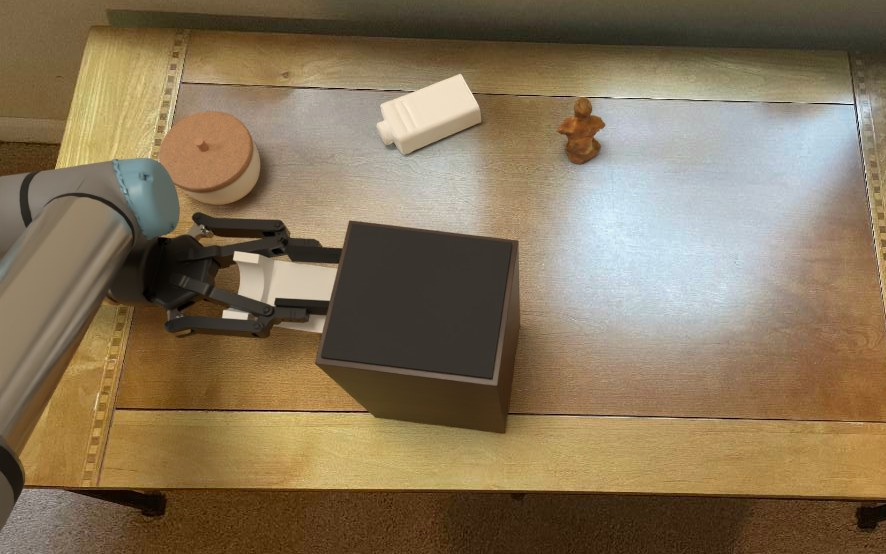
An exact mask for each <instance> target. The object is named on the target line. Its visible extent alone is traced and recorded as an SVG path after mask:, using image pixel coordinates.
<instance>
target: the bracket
mask: <svg viewBox="0 0 886 554" xmlns="http://www.w3.org/2000/svg"><path fill="white" fill-rule="evenodd" d="M233 260H234V261H235V262H236V263H237V264H236V265H237V266H238V270H239V286H238V287H239V288H238V291H237V294H238V295H242V296H245V297H248V298H251V299H254V300H257V301H260V302H263V303H266V304H269V305H271V306H275V305H274V302H275V298H290V299H308V300H326V301H330V298H331V294H332V290H333V286H334V281H335V277H336V273H337V269H338V268H336V267H327V266H322V265H321V266H320V265H313V264H308V263H307V264H306V263H301V262H292V261H285V260H278V259H273V258H268V257H265V256H262V255H259V254H252V253H245V252H238V251H235V252H234V258H233ZM221 316H222V317H221V318H229V319H242V320H255V321H257V319H258V318H257V317H255V316H254V315H252V314H251V313H248V312H244V311H241V310H237V309H233V308H227V309H223V311H222V315H221ZM325 319H326V315H310V318H309V322H305V323H295V322H281V323H280V324H278V325H274V326H273V327H277V328H283V329H290V330H297V331H302V332H303V331H305V332H311V333H319V334H322V331H323V327H324V323H325Z"/></svg>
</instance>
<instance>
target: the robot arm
mask: <svg viewBox="0 0 886 554" xmlns="http://www.w3.org/2000/svg"><path fill="white" fill-rule="evenodd" d="M180 209H181V206H180V199H179V195H178V191H177V188H176V185H175V184H174V182H173V180H172V178H171V176H170V174H169V173H168V171H167V170H166V168H165V167H164V166H163V165H162V164H161V163H160V162H159V160H157V159H154V158H150V157H138V158H135V157H134V158H124V159H118V158H112V159H111V160H106V161H99V162H94V163H93V162H92V163H86V164H80V165H73V166H66V167H61V168H53V169H47V170H46V169H45V170H40V171H30V172H24V173H16V174H8V175H1V176H0V533H1V532H2V531H3V529H4V527H5V526H6V523H7V521H8V520H9V518H10V516H11V514H12V512H13V509H14V508H15V506H16V504H17V502H18V500H19V498H20V496H21V494H22V492H23V491H24V488H25V483H26V471H25V468H24V464H23V463H22V460H21V457H20V456H21V455H22V453H23V451H24V449H25V447H26V445H27V443H28V441H29V440H30V438H31V436H32V434H33V432H34V431H35V428H36V427H37V425H38V423H39V421H40V420H41V417H42V416H43V414H44V412H45V410H46V408H47V406H48V404H49V403H50V401H51V399H52V397H53V395H54V394H55V391H56V390H57V388H58V387H59V384H60V382H61V380H62V378H63V377H64V375H65V374H66V371H67V370H68V367H69V365H70V364H71V362H72V360H73V358H74V357H75V355H76V353H77V351H78V349H79V348H80V346H81V343H82V342H83V340H84V339H85V336H86V334H87V333H88V330H89V328H90V327H91V325H92V324H93V321H94V319H95V317H96V315H97V314H98V312H99V310H100V308H101V306H120V305H121V306H123V307H129V308H130V307H131V308H146V309H147V308H149V309H162V310H164V311H166V313H167V314H166V315H167V321H166V322H165V323H164V324H163V329H164V330H165V331H166V332H168V333H170V334H171V335H172V336H174V337H176V338H178V339H182V338H183V339H184V338H187V337H190V336H191V337H192V336H195V335H206V336H207V335H209V336H220V337H221V336H222V337H232V338H233V337H234V338H246V339H261V340H266V339H268V338H269V337H270V336H271V334H272V329H273V327H275V326H274V325H278V324H280V323H281V322H295V323H305V322H309V318H310V315H327V310H328V306H329V302H330V301H326V300H308V299H290V298H275V302H274V305H275V306H271V305H269V304H266V303H263V302H260V301H257V300H254V299H251V298H248V297H245V296H242V295H238V293H236V292H232V291H229V290H226V289H223V288H219V287H217V286H216V277H217V276H218V274H219V272H220V270H224V269H229V268H230V267H231V266H234V265H238V264H237V263H236V262H235V261H234V260H233V258H234V252H235V251H238V252H245V253H252V254H259V255H262V256H265V257H268V258H270V259H273V258H277V257H284V256H287V257H288V258H289V259H290V262H292V263H308V264H309V263H311V264H328V265H329V264H330V265H331V264H332V265H339V261H340V256H341V252H342V248H343V247H330V246H329V247H328V246H323V245H322V244H321V242H320V241H319V240H318V239H315V238H300V237H291V231H290V230H289V228H288V227H287V225H286V224H285V222H284V221H283V220H281V219H270V218H269V219H268V218H266V219H264V218H238V217H237V218H234V217H233V218H232V217H214V216H211V215H209V214H206V213H203V212H202V211H201V212H200V211H197V212H194V213H193V214H192V216H191V220H192V221H193V224H192V225H191V227H190V229H189V230H188V232H187V233H186V234H185V233H184V234H179V235H178V236H174V237H168V235H169V234H170V233H173V232H174V231H175V230H176V228H177V227H178V224H179V222H180V221H179V220H180V213H181V211H180ZM166 235H167V237H166ZM214 236H216V237H218V238H227V239H228V238H234V239H253V240H247V241H243V242H237V243H231V244H226V245H218V244H212V245H208V246H205V245H203V244H202V243H201V242H200V240H201V239H213V238H214ZM201 301H203V302H206V303H208V304H212V305H214V306H220V307H224V308H227V309H229V308H233V309H237V310H241V311H244V312H248V313H251V314H252V315H254V316H255V317H257V318H258V319H257V321H255V320H242V319H229V318H222V317H217V316H216V317H215V316H202V315H190V314H188V313H187V312H183V311H185V310H187V309H189V308H190V307H192V306H194V305H196V304H197V303H198V304H199V302H201Z"/></svg>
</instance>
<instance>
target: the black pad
mask: <svg viewBox="0 0 886 554" xmlns="http://www.w3.org/2000/svg"><path fill="white" fill-rule="evenodd" d="M511 249H512V243H511V242H503V241H494V240H486V239H478V238H469V237H461V236H452V235H444V234H436V233H427V232H419V231H411V230H402V229H394V228H385V227H377V226H369V225H360V224H352V227H351V231H350V235H349V239H348V243H347V248H346V252H345V256H344V260H343V264H342V269H341V273H340V277H339V281H338V285H337V290H336V294H335V298H334V302H333V306H332V311H331V315H330V319H329V323H328V327H327V331H326V336H325V340H324V344H323V348H322V352H321V358H324V359H332V360H340V361H348V362H356V363H364V364H372V365H380V366H388V367H396V368H404V369H412V370H420V371H428V372H437V373H445V374H453V375H461V376H469V377H477V378H485V379H492V378H493V371H494V364H495V358H496V351H497V344H498V337H499V331H500V324H501V317H502V310H503V303H504V297H505V290H506V283H507V276H508V270H509V263H510V256H511Z"/></svg>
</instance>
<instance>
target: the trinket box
mask: <svg viewBox="0 0 886 554" xmlns="http://www.w3.org/2000/svg"><path fill="white" fill-rule="evenodd" d="M158 162H159V163H161V164H162V165H163V166H164V167H165V168H166V170H167V171H168V173H169V174H170V176H171V178H172V180H173V182H174V185H175V187H177V188H178V189H180V190H181V191H182V192H183V193H184V194H185V195H187V196H188V197H189V198H192V199H194V200H196V201H199V202H201V203H204V204H208V205H215V206H218V205H220V206H221V205H227V204H232V203H235V202H237V201H240V200H241V199H243V198H244V197H246V196H247V195H249V193H250V192H251V191H252V190H253V189H254V187H255V186H256V184H257V182H258V180H259V177H260V174H261V165H262V164H261V157H260V153H259V149H258V147H257V145H256V142H255V141H254V140H253V137H252V135H251V133H250V131H249V129H248V128H247V127H246V125H245V124H244V123H243V122H242V121H241V119H239V118H237V117H236V116H234V115H232V114H230V113H227V112H222V111H214V110H209V111H202V112H201V111H199V112H197V113H194V114H191V115H188V116H185V117H184V118H183V119H181V120H179V121H177V123H175V124H174V125H172V127H171V128H170V129H169V130H168V132H167V133H166V134H165V135H164V138H163V139H162V141H161V144H160V147H159V153H158Z"/></svg>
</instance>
